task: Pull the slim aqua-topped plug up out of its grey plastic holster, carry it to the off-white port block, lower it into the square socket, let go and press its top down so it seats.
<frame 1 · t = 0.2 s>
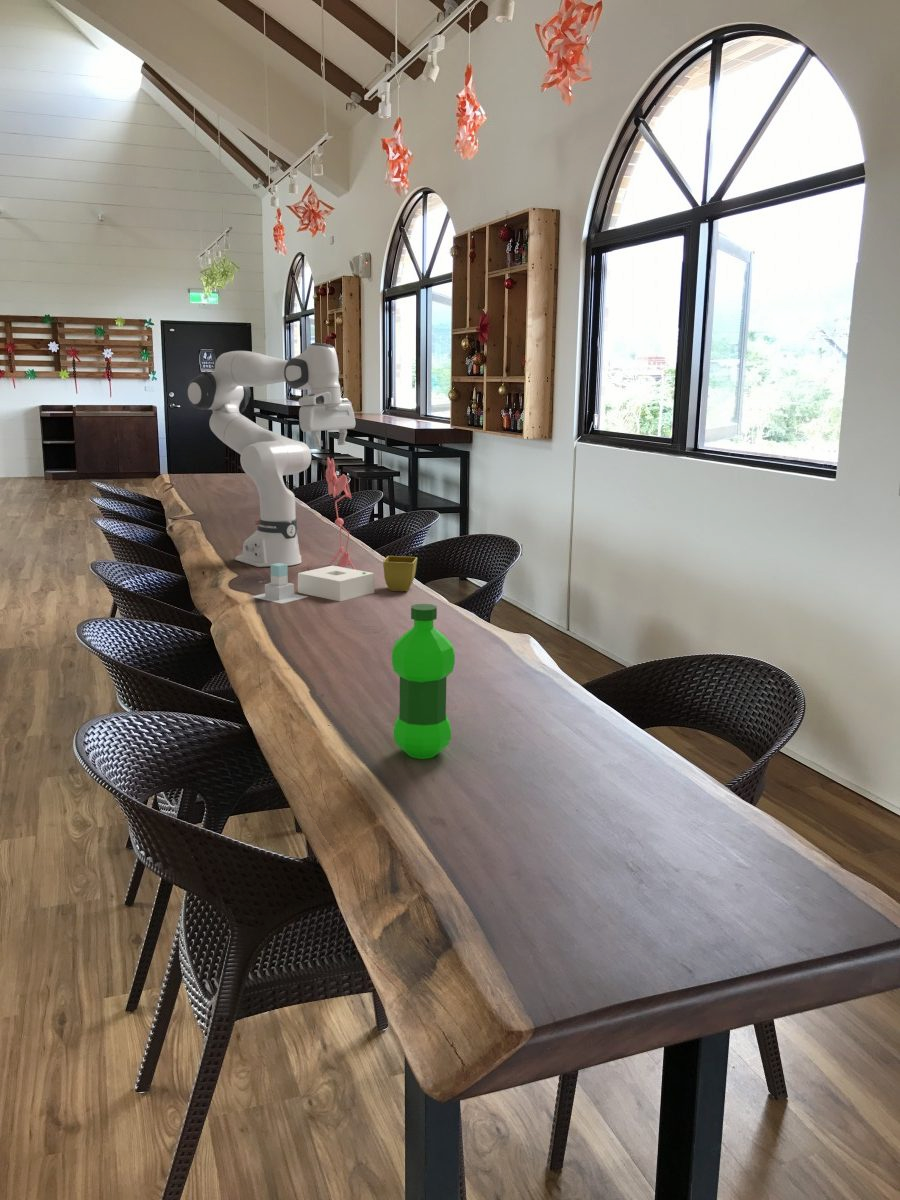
hand: (330, 445, 286), 39 cm above the table, tool pointing down, fingers open, 8 cm apart
figurine: (331, 569, 302), on the table
holster: (279, 598, 262), on the table
flower pot: (400, 590, 275), on the table
port: (336, 594, 268), on the table
plug: (279, 596, 262), resting on holster
plastic bottle: (422, 753, 159), on the table
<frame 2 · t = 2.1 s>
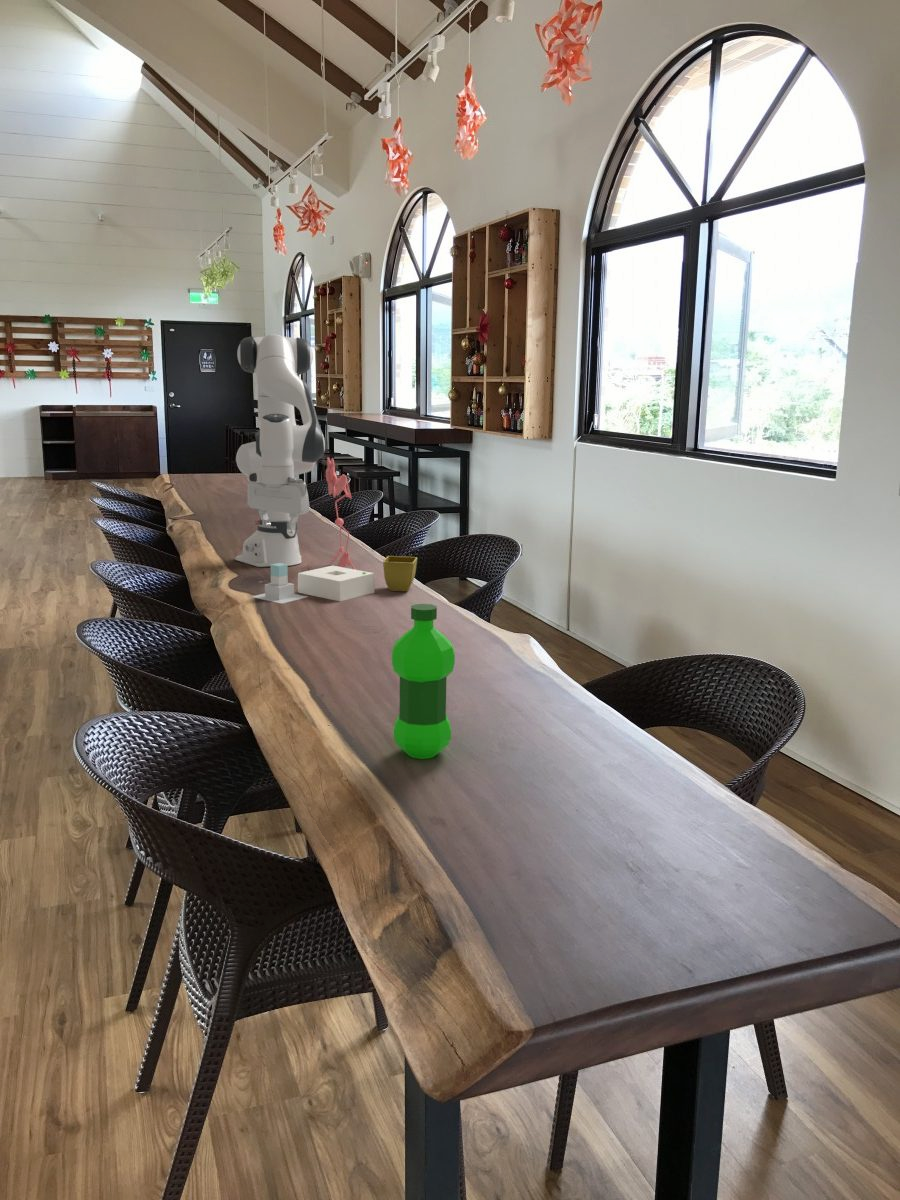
hand: (278, 527, 257), 20 cm above the table, tool pointing down, fingers open, 8 cm apart
nothing on the table moved.
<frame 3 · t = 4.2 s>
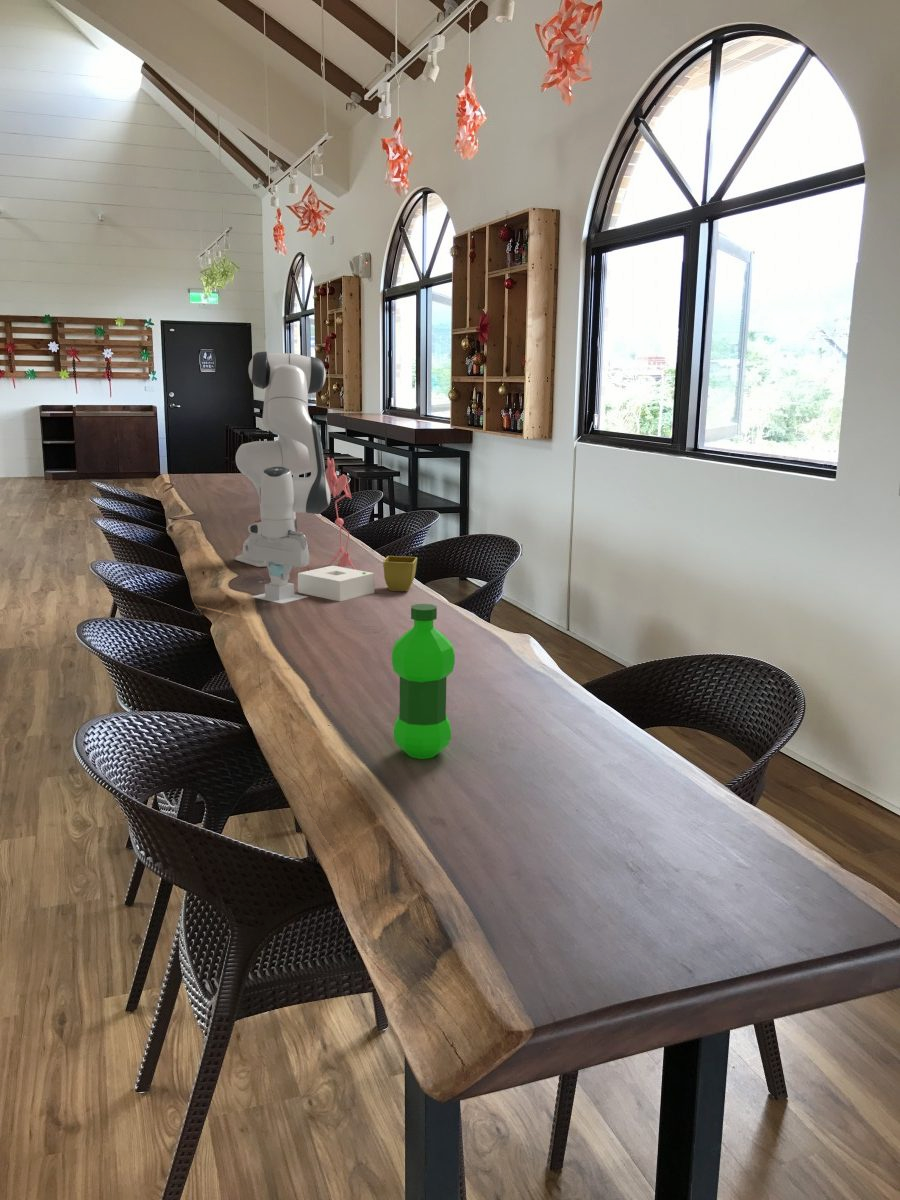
hand: (279, 578, 260), 6 cm above the table, tool pointing down, fingers closed on plug, 3 cm apart
plug: (279, 596, 262), resting on holster, touching gripper
everything else where it was.
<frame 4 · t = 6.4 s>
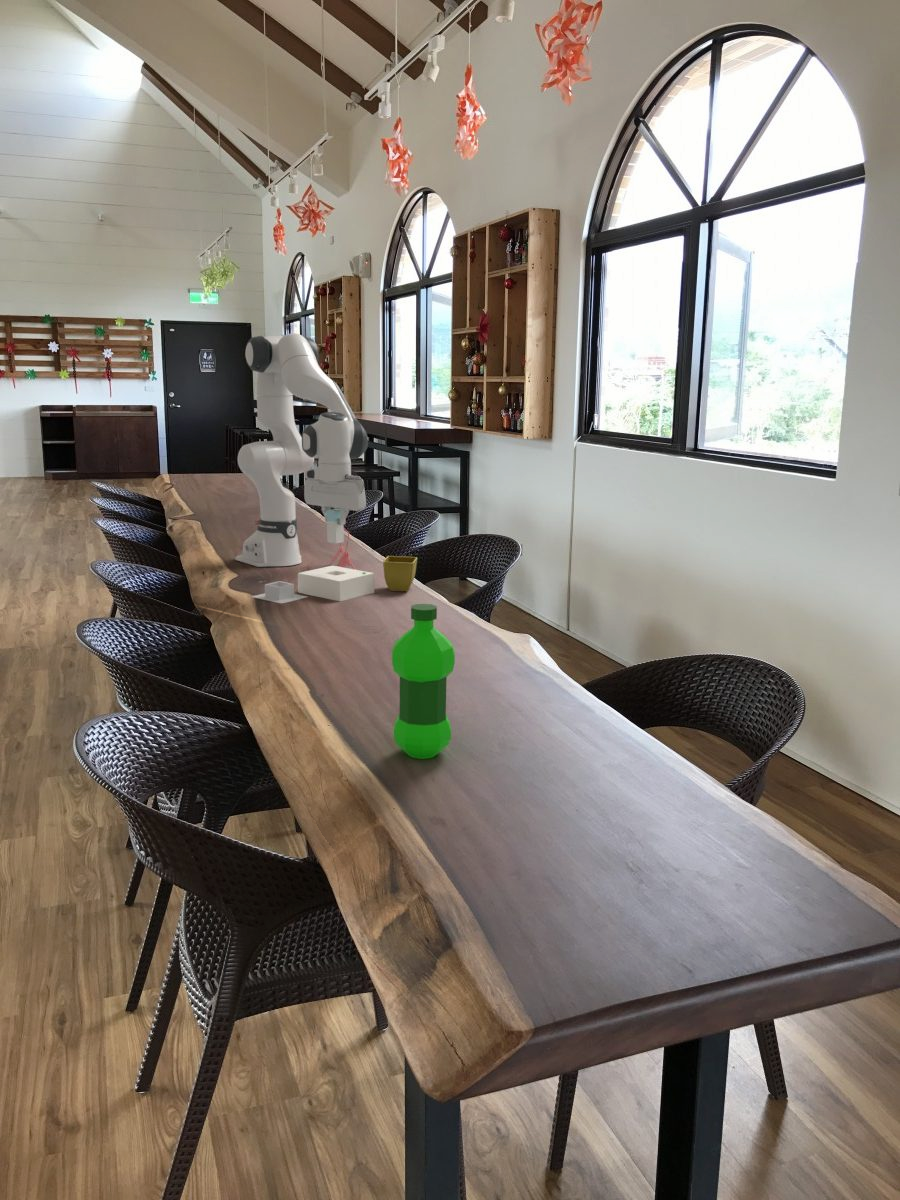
hand: (335, 523, 263), 20 cm above the table, tool pointing down, fingers closed on plug, 3 cm apart
plug: (335, 542, 264), point 15 cm above the table, touching gripper
everything else where it was.
when the fingers open (7 cm above the table, at t = 8.5 s): plug moves 1 cm, resting on port.
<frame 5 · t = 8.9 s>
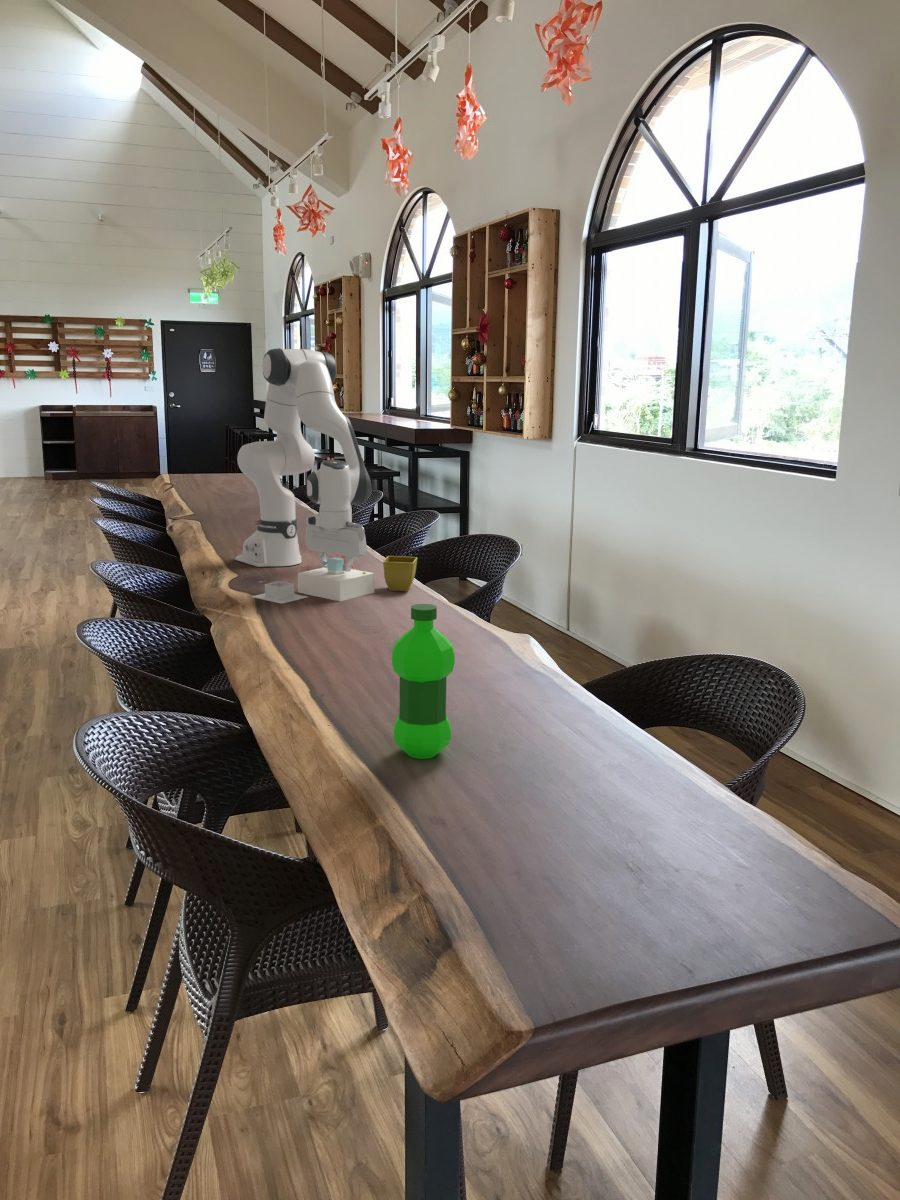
hand: (336, 569, 266), 7 cm above the table, tool pointing down, fingers open, 7 cm apart
plug: (335, 590, 268), point 1 cm above the table, touching port
everything else where it was.
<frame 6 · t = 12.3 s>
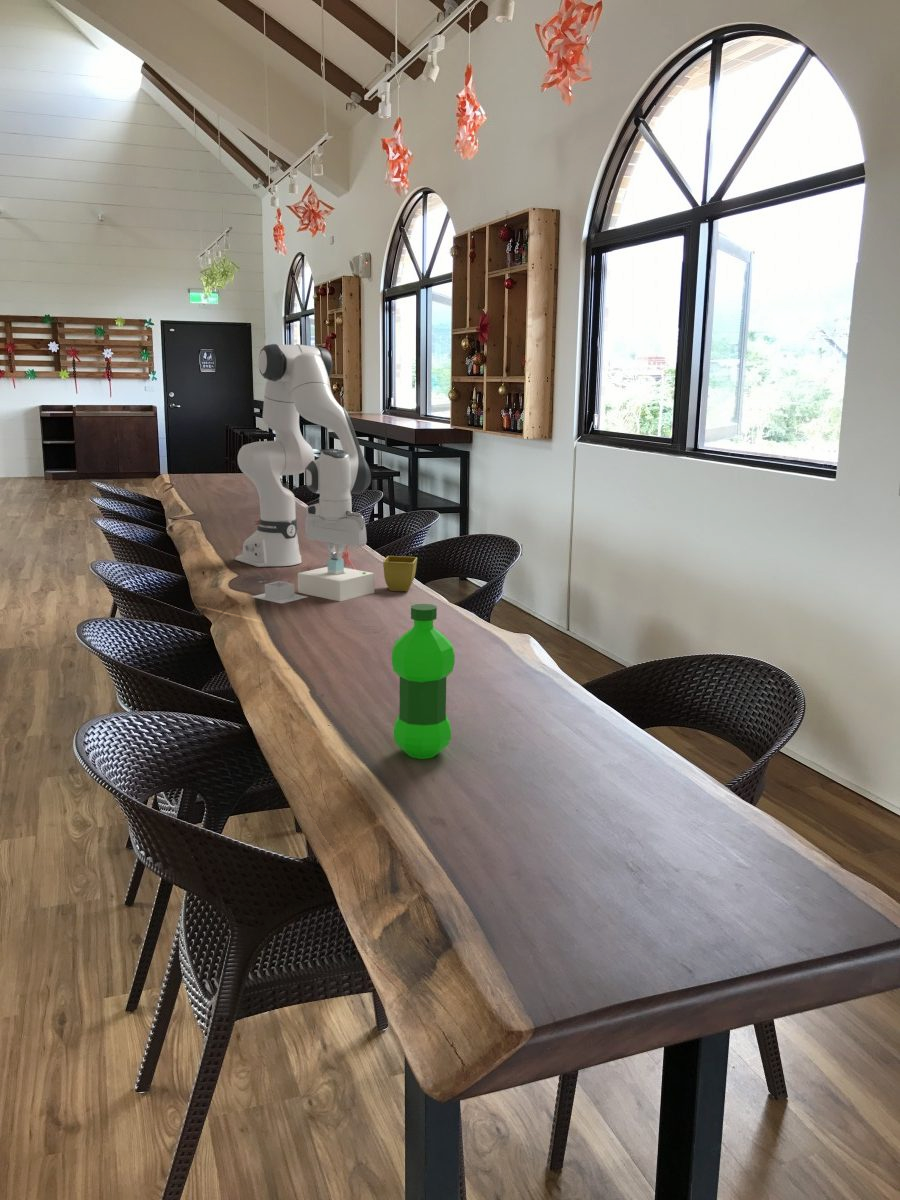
hand: (336, 558, 266), 10 cm above the table, tool pointing down, fingers closed, pressing on plug
plug: (335, 590, 268), point 1 cm above the table, touching gripper, port
everything else where it was.
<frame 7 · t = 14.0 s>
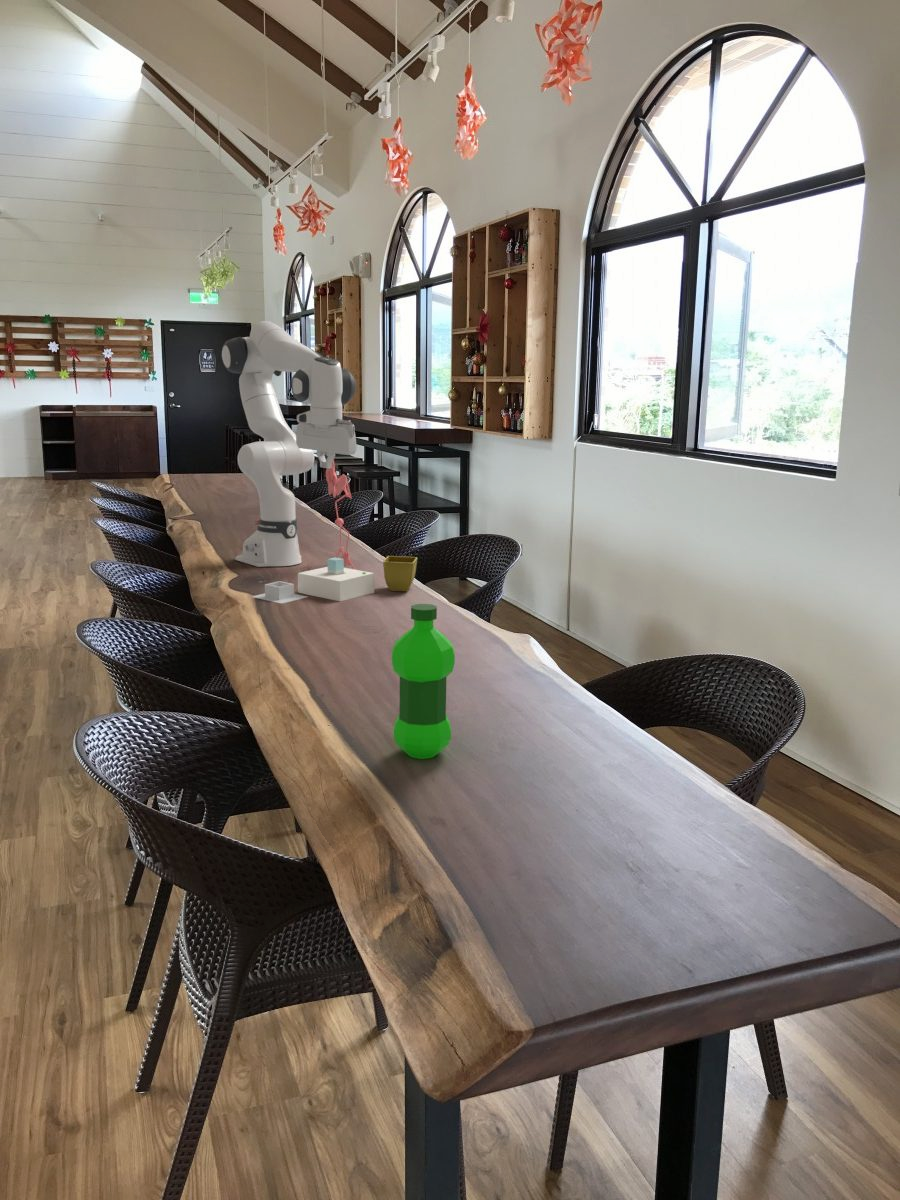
hand: (325, 467, 269), 34 cm above the table, tool pointing down, fingers closed
plug: (335, 590, 268), point 1 cm above the table, touching port
everything else where it was.
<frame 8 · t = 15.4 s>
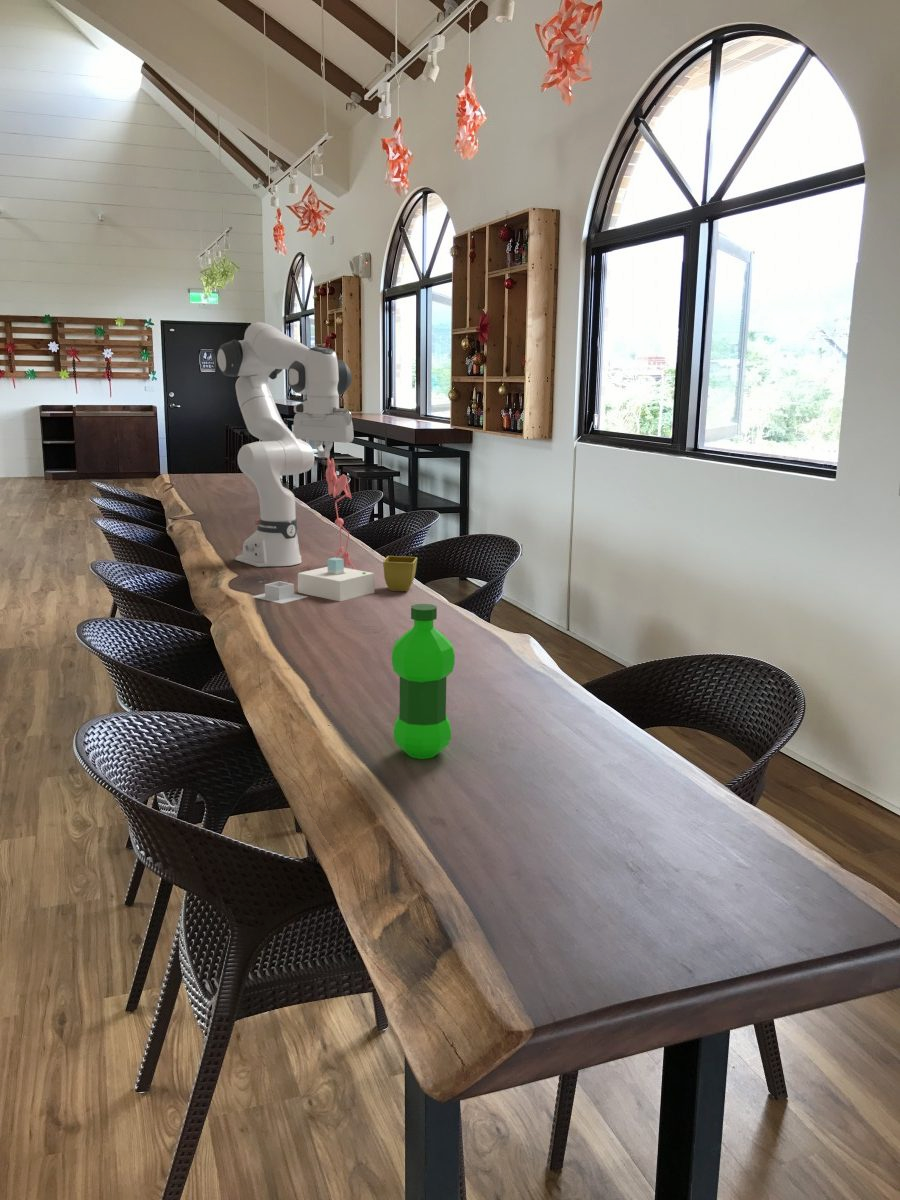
hand: (323, 457, 270), 37 cm above the table, tool pointing down, fingers closed
nothing on the table moved.
at the end: plug 0.2 cm off-centre on the port, point 1.0 cm above the port's base; plug tilted 0°; the gripper is holding nothing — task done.
